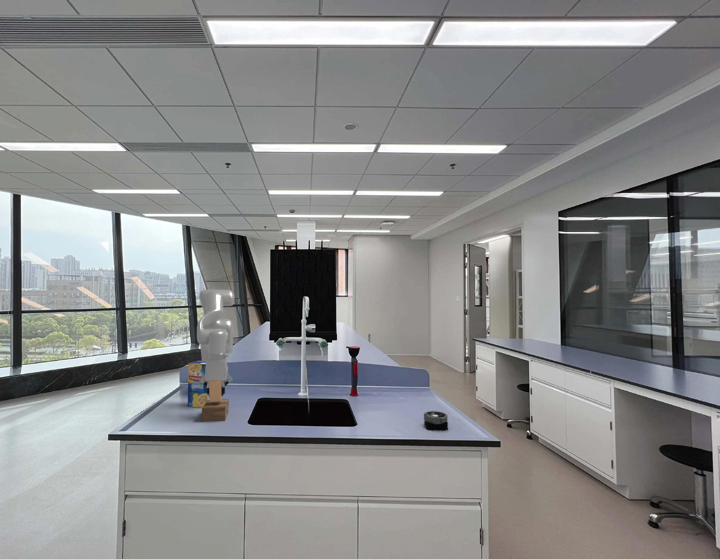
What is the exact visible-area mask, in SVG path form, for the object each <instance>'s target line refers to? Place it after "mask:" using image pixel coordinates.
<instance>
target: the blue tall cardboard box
mask: <svg viewBox="0 0 720 559" xmlns="http://www.w3.org/2000/svg"><path fill="white" fill-rule="evenodd" d="M206 362H207V361H202V360H193V361H192V362H188V367H187V368H188V369H187V370H188V372H187V373H188V374H187V377H188V378H187V407H189V408H201V409H202V408H203V406H204V405H205V403H206V401H207V400H209V395H207V387H206V386H205V385H204V384H203V383H201V382H200V380H201V378H202V377H203V376H204V375H205V368H206ZM204 381H205V379H204ZM206 382H207V381H206ZM207 383H208V382H207Z"/></svg>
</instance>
